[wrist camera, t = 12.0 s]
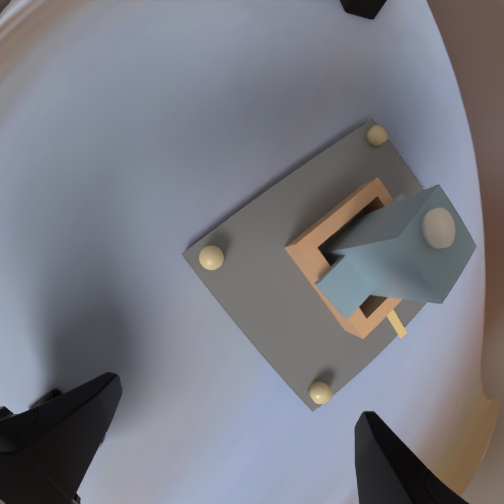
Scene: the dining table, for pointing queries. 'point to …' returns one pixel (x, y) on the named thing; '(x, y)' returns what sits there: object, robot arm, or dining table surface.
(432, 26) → the dining table surface
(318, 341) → the chassis plate
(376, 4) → the battery
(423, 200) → the block
